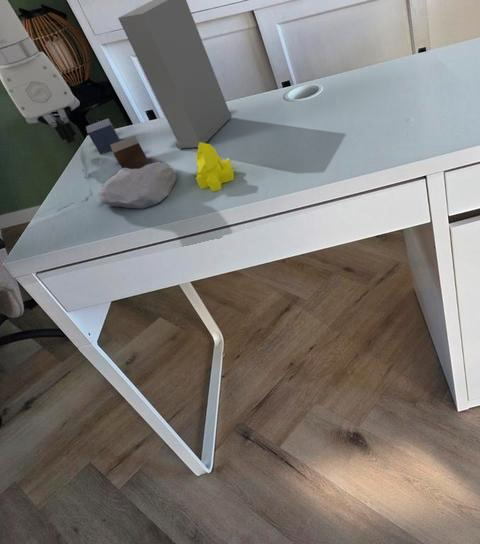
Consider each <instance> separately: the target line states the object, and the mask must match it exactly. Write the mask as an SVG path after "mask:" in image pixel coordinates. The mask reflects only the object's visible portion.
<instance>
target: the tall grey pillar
mask: <svg viewBox="0 0 480 544" xmlns="http://www.w3.org/2000/svg"><path fill="white" fill-rule="evenodd" d="M117 19H118V21H119V23H120V25H121V27H122V29H123V31H124V33H125V36H126V37H127V40H128V41H129V44H130V45H131V48H132V50H133V52H134V55H135V56H136V58H137V61H138V62H139V64H140V66H141V69H142V71H143V73H144V75H145V77H146V79H147V82H148V84H149V85H150V87H151V91H152V92H153V94H154V97H155V98H156V100H157V102H158V104H159V106H160V108H161V110H162V113H163V114H164V117H165V119H166V121H167V123H168V126H169V127H170V129H171V131H172V133H173V135H174V138H175V140H176V142H175V146H176V148H177V149H180V150H183V149H191V148H198V146H199V142H202V143H206V144H207V142H208V141H209V140H210V139H212V137H213V136H214V135H215V134H216V133H217V132H218V131H219V130H220V129H221V128H222V127H223V126H224V125H225V124H226V123H227V122H228V121H230V120H231V118H232V117H233V115H232V113H231V111H230V110H229V107H228V104H227V101H226V100H225V97H224V94H223V92H222V89H221V86H220V84H219V81H218V78H217V76H216V74H215V71H214V68H213V66H212V64H211V60H210V58H209V56H208V53H207V51H206V47H205V45H204V42H203V40H202V38H201V35H200V32H199V30H198V27H197V25H196V21H195V20H194V16H193V14H192V12H191V9H190V6H189V4H188V1H187V0H150V1H148V2H146V3H144V4H142V5H141V6H138V7H136V8H134V9H133V10H130V11H129V12H127V13H125V14H122V15H121V16H119V17H118V18H117Z"/></svg>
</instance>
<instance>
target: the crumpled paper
mask: <svg viewBox="0 0 480 544" xmlns="http://www.w3.org/2000/svg"><path fill="white" fill-rule="evenodd" d="M195 158H196V159H195V160H196V161H195V162H196V166H197V169H198V170H197V171H195V174H196V177H195V180H196V182H197V185H198V186H199V188H200V190H202V189H207V188H210V191H211V192H212V193H214V192H217V191H220V190H222V185H223V184H224V183H227V182H228V183H229V182H231V181H234V178H235V177H234V176H235V170H234V167H233V165H232V163H231V160H230V158H229V157H228V158H226V159H225V160H224V161H223V158H222V157H221V156H219V155H218V152H217V151H216V149H215V148H214V146H212V144H210V143H207V142H206V143H202V142H199V146H198V147H197V152H196V157H195Z"/></svg>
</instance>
